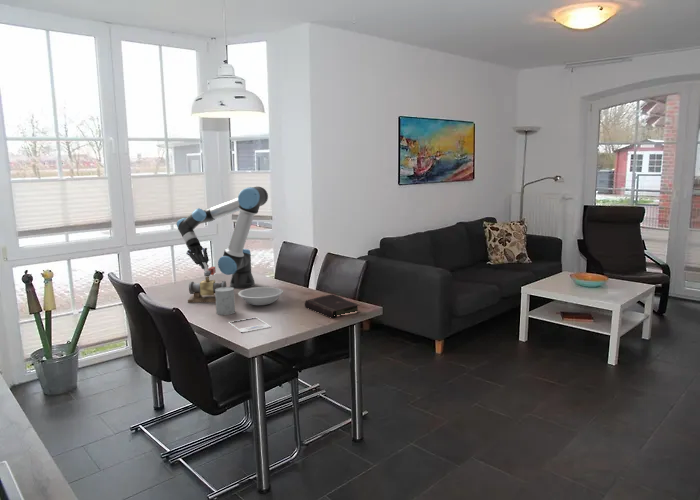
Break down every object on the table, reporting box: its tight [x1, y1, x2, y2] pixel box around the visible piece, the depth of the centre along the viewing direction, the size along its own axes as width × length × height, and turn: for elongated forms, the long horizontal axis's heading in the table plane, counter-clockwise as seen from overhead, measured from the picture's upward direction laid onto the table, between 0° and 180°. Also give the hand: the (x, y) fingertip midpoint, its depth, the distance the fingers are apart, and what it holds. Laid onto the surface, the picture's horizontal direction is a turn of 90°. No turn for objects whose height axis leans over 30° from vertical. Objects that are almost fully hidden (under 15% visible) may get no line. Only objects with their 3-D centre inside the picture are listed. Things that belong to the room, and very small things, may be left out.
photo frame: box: [227, 316, 272, 333], centre depth 245 cm, size 15×1×18 cm
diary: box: [304, 293, 361, 319], centre depth 268 cm, size 19×25×5 cm
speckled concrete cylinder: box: [214, 286, 236, 316], centre depth 265 cm, size 10×10×12 cm
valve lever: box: [203, 266, 216, 277], centre depth 294 cm, size 3×16×4 cm, turn 0°
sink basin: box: [237, 286, 284, 306], centre depth 281 cm, size 24×24×7 cm
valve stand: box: [187, 276, 227, 304], centre depth 289 cm, size 20×11×13 cm, turn 91°
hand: (207, 272), depth 299 cm, fingers closed
